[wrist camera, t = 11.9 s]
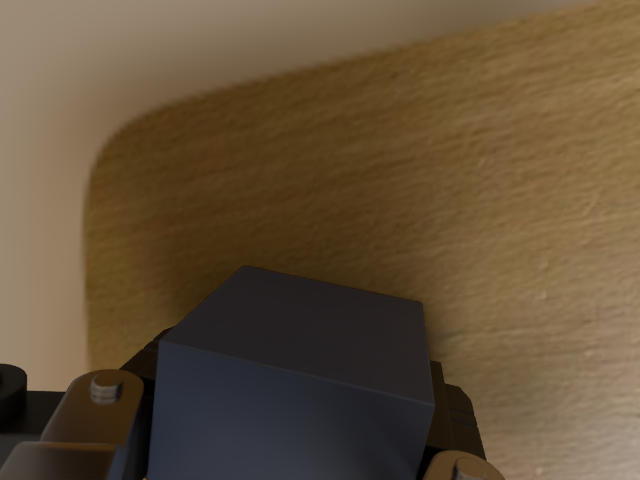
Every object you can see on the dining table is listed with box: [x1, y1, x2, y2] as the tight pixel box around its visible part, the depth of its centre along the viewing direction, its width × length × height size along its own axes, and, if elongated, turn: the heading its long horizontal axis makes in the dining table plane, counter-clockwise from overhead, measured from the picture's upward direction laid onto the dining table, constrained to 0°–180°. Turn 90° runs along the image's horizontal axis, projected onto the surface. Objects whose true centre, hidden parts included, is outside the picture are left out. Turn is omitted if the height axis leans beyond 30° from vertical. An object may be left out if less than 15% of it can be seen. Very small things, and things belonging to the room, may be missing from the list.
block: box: [146, 266, 435, 480], centre depth 11 cm, size 5×5×5 cm
